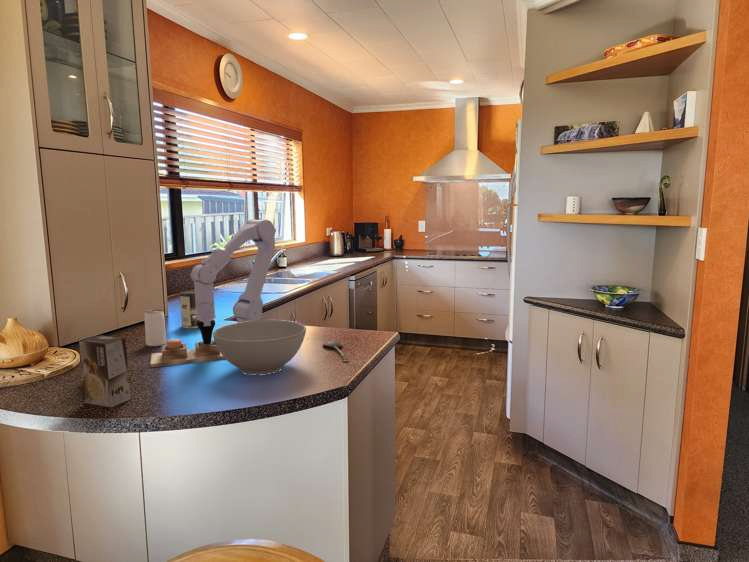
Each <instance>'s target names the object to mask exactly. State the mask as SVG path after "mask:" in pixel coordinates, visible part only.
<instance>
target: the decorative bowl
mask: <svg viewBox="0 0 749 562" xmlns="http://www.w3.org/2000/svg"><path fill="white" fill-rule="evenodd" d="M306 332H307V327H306V325H305V324H303V323H301V322H298V321H292V320H284V319H259V320H254V321H245V322H238V323H237V322H235V323H230V324H226V325H223V326H220V327H218V328H216V329H214V330H213V332H212V338H213V340H214V341H215V343H216V345H217V347H218V349H219V351H220V352H221V354H222V355H223V356H224V358H225V359H224V360H226V361H227V362H228V363H230V365H233V366H234V367H236V368H237V369H239V370H240V372H241V373H242V372H243V373H242V374H244V373H246V374H256V375H260V374H268V373H273V372H276V371H279V370H280V369H282V368H284V366H285V365H286V364H287V363H289V362H290V361H291V360H292V359H293V358H294V357H295V356H296V355H297V353H298V352H299V350H300V349H301V347H302V345H303V342H304V339H305V336H306ZM282 370H283V369H282ZM280 371H281V370H280ZM280 371H279V372H280ZM276 373H277V372H276ZM246 374H245V375H246ZM273 374H274V373H273ZM260 376H261V375H260Z"/></svg>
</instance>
